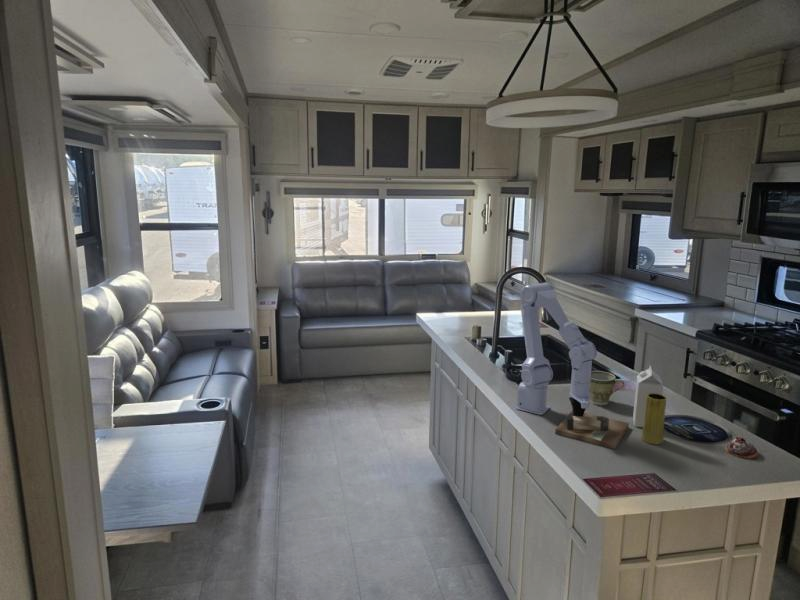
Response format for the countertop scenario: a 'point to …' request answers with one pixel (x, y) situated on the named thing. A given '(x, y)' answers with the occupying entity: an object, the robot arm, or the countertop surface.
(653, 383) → the milk carton
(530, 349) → the robot arm
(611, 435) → the wooden board
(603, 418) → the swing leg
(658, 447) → the countertop surface
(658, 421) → the vase
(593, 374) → the ceramic cup
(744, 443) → the pastry
